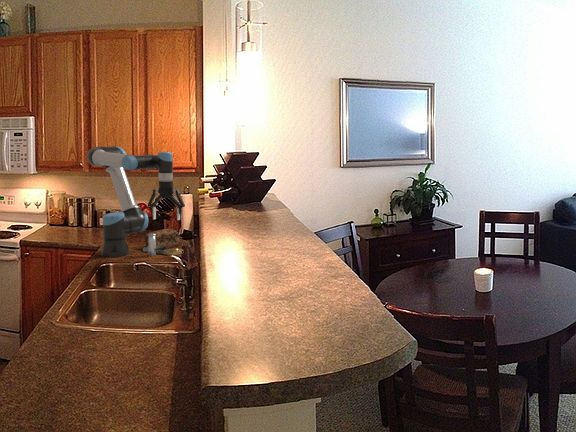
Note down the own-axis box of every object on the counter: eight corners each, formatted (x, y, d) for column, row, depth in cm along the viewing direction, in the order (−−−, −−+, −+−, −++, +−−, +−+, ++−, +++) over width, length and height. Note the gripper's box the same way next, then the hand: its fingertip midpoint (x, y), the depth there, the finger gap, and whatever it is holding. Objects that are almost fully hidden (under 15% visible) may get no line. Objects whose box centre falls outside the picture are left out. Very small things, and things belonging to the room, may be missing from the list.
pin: (146, 255, 303) (145, 234, 301) (152, 254, 307) (151, 233, 305) (152, 256, 300) (151, 234, 299) (158, 254, 304) (157, 233, 303)
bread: (169, 243, 342) (168, 227, 340) (180, 244, 335) (179, 228, 334) (144, 247, 327) (143, 231, 326) (155, 249, 320) (154, 232, 319)
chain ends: (143, 251, 315) (142, 246, 314) (153, 249, 321) (153, 244, 321) (173, 255, 302) (173, 250, 301) (183, 253, 308) (183, 248, 308)
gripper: (140, 180, 291) (141, 219, 294) (186, 181, 289) (186, 221, 292) (146, 179, 299) (146, 217, 302) (190, 180, 296) (190, 219, 299)
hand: (166, 219), depth 297 cm, fingers open, 13 cm apart
